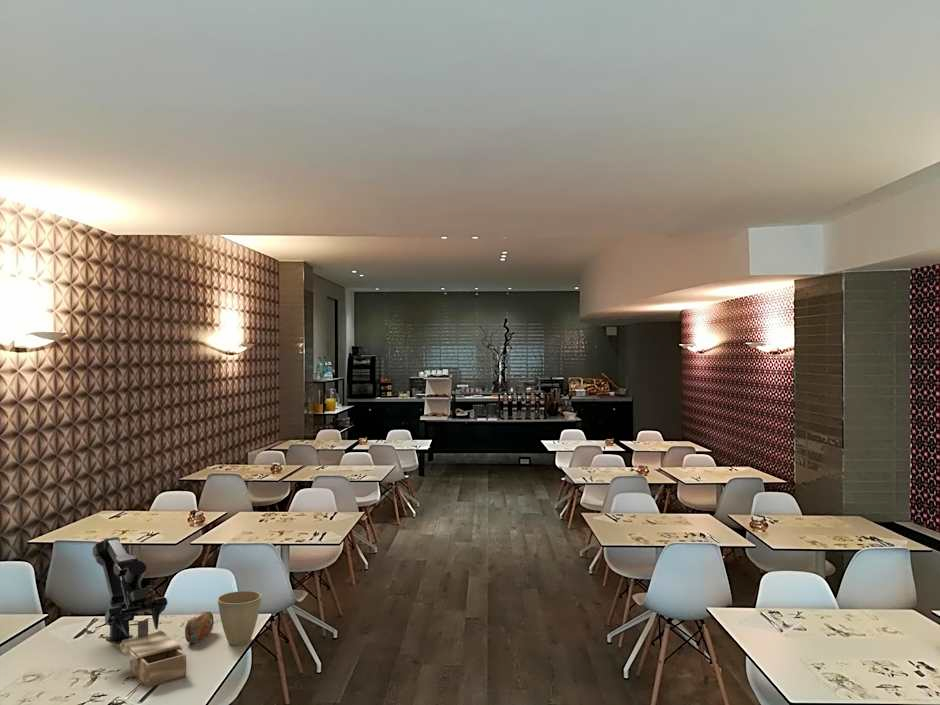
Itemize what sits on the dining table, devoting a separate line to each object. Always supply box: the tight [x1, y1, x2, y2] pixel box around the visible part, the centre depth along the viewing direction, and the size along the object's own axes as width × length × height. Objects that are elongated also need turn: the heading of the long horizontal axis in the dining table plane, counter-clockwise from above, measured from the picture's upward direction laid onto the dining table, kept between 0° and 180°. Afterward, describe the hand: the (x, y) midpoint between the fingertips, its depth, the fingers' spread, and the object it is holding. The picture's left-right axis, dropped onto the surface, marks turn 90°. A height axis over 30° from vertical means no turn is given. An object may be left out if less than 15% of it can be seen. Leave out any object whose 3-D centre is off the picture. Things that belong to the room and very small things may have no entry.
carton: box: [129, 648, 187, 689], centre depth 236 cm, size 16×12×7 cm
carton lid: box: [119, 619, 183, 665], centre depth 241 cm, size 17×14×8 cm
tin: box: [184, 611, 215, 644], centre depth 266 cm, size 15×3×8 cm, turn 168°
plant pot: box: [217, 590, 262, 646], centre depth 263 cm, size 15×15×16 cm
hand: (142, 632), depth 247 cm, fingers open, 9 cm apart
